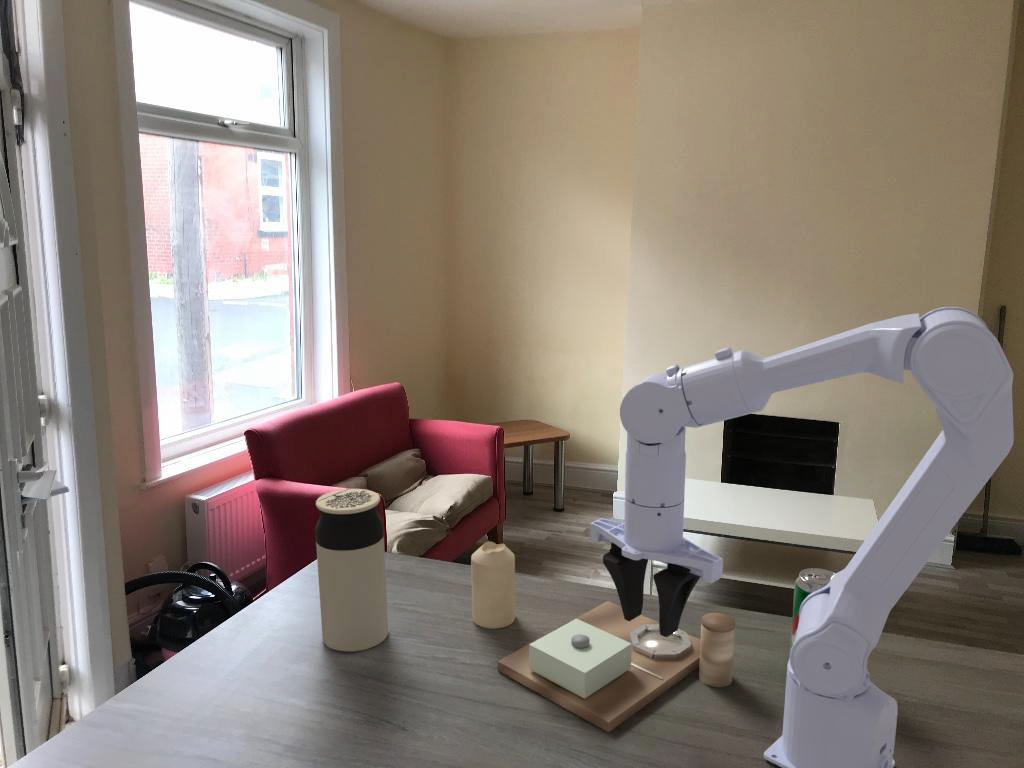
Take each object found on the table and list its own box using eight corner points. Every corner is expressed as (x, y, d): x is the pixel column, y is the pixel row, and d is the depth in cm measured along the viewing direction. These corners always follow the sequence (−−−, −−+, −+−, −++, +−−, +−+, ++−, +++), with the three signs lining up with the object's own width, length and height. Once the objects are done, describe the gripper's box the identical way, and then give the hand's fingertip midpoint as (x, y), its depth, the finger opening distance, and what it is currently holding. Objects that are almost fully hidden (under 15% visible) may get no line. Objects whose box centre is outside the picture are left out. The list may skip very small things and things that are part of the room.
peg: (738, 677, 92) (741, 620, 90) (721, 691, 89) (724, 632, 88) (710, 665, 94) (712, 609, 93) (692, 678, 92) (695, 621, 90)
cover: (630, 668, 91) (631, 638, 90) (584, 698, 86) (584, 667, 85) (576, 641, 97) (576, 613, 96) (529, 668, 91) (529, 639, 90)
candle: (466, 613, 107) (464, 541, 105) (504, 604, 109) (503, 534, 107) (482, 633, 102) (481, 558, 100) (522, 623, 104) (521, 550, 102)
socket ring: (700, 642, 97) (701, 638, 97) (667, 665, 92) (667, 661, 92) (653, 622, 101) (653, 618, 101) (619, 643, 97) (619, 639, 97)
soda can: (840, 690, 89) (849, 588, 87) (791, 685, 90) (798, 584, 88) (832, 665, 94) (840, 568, 92) (786, 660, 95) (792, 564, 93)
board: (715, 655, 96) (715, 644, 96) (608, 732, 83) (608, 720, 82) (607, 609, 107) (607, 599, 107) (497, 670, 94) (497, 659, 93)
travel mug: (401, 635, 101) (395, 498, 97) (347, 661, 96) (339, 516, 92) (362, 614, 107) (355, 482, 103) (309, 637, 101) (300, 499, 97)
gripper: (571, 490, 82) (570, 613, 85) (696, 529, 72) (690, 668, 75) (614, 473, 87) (612, 591, 90) (737, 507, 77) (730, 639, 80)
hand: (650, 624), depth 83 cm, fingers open, 4 cm apart
